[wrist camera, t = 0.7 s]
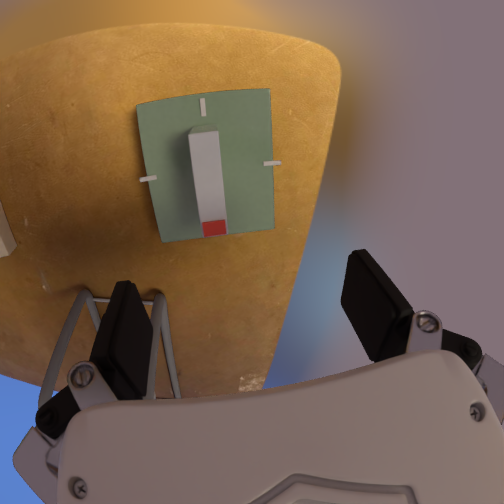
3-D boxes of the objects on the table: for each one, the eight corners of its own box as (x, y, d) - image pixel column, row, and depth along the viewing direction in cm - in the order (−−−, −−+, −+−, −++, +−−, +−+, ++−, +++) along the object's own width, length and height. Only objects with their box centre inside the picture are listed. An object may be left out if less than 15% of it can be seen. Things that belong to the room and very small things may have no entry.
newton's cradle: (82, 280, 27) (31, 416, 12) (165, 284, 29) (150, 441, 14) (130, 400, 43) (125, 482, 28) (183, 403, 45) (186, 488, 30)
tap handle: (192, 126, 18) (187, 135, 14) (216, 123, 18) (218, 131, 14) (203, 211, 22) (202, 240, 18) (225, 208, 22) (229, 236, 18)
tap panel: (138, 105, 19) (127, 106, 16) (269, 89, 20) (278, 88, 17) (160, 228, 25) (154, 245, 23) (274, 214, 26) (281, 229, 24)
